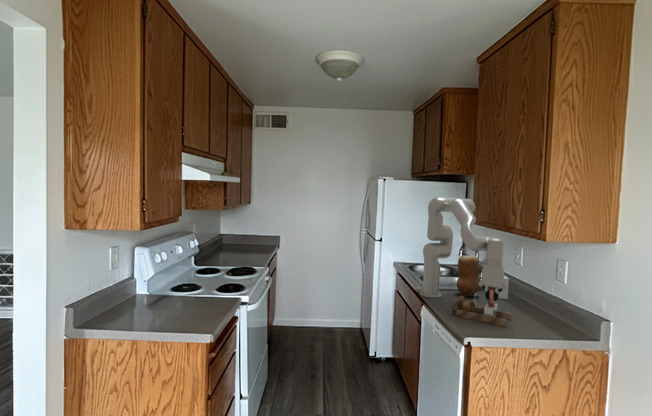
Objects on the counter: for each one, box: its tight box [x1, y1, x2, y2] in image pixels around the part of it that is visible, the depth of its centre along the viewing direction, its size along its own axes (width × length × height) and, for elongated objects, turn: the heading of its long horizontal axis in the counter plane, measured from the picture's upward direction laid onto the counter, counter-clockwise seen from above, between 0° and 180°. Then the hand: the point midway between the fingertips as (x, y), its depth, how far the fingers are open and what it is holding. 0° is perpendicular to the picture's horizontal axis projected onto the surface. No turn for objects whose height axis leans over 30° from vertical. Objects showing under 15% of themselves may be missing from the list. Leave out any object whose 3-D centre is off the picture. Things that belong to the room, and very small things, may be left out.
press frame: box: [451, 295, 512, 328], centre depth 190 cm, size 25×14×7 cm, turn 55°
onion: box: [461, 299, 479, 313], centre depth 193 cm, size 8×8×8 cm
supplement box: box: [495, 275, 510, 300], centre depth 229 cm, size 7×7×13 cm
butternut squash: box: [456, 255, 481, 298], centre depth 228 cm, size 14×13×25 cm
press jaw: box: [483, 286, 499, 318], centre depth 187 cm, size 4×10×15 cm, turn 145°
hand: (491, 299), depth 187 cm, fingers closed on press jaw, 3 cm apart
